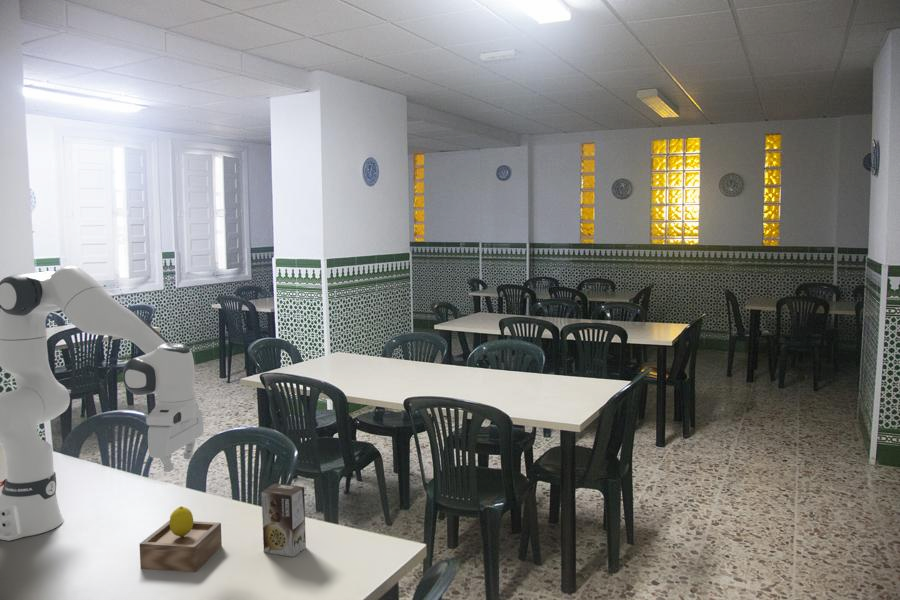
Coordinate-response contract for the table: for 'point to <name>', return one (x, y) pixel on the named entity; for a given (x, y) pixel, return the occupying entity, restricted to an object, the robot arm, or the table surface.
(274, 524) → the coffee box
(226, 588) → the table surface
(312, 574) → the table surface
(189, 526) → the lemon
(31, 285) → the robot arm
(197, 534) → the walnut base
